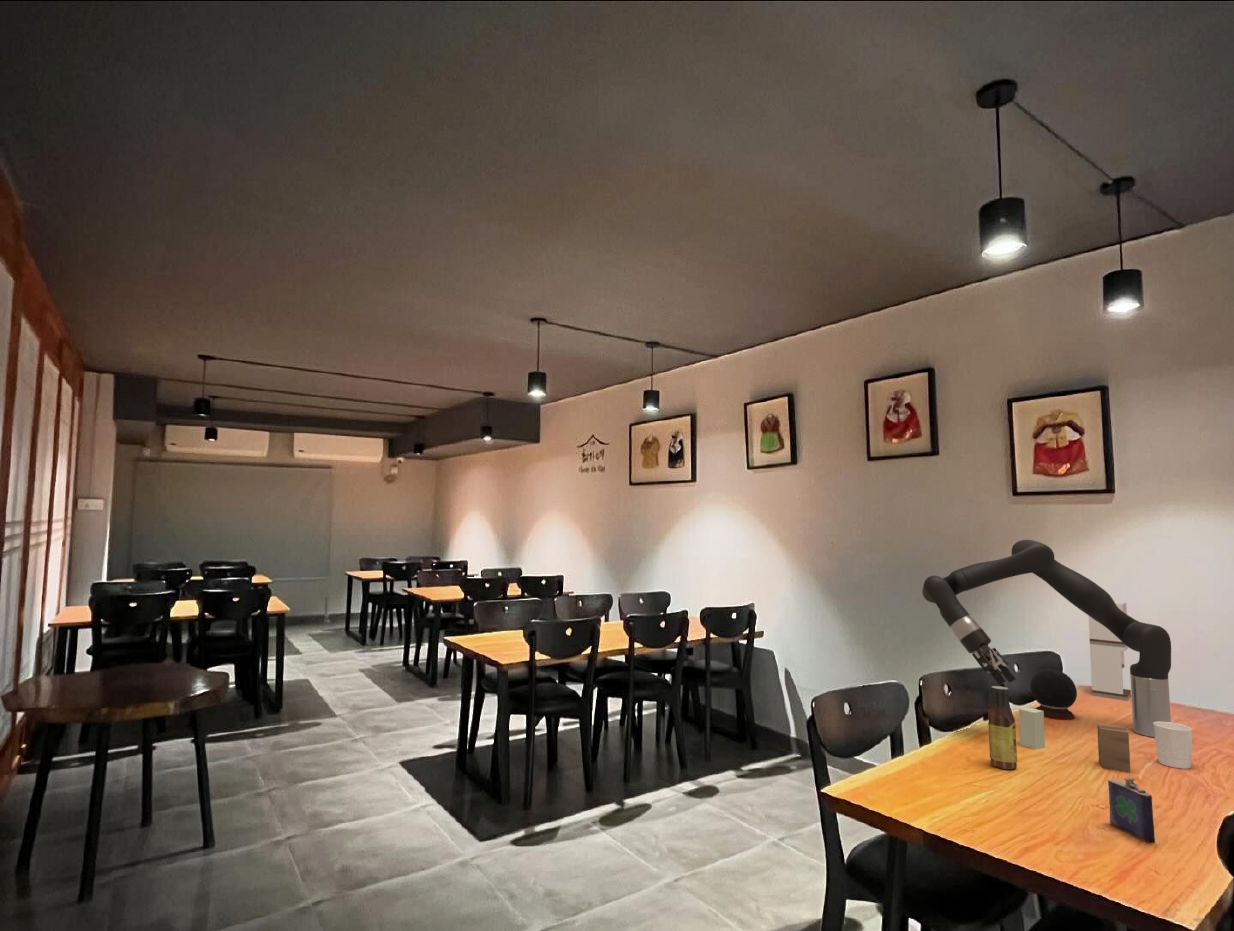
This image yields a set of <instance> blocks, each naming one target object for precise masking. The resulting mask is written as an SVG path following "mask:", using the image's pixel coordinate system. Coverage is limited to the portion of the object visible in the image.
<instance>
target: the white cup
mask: <svg viewBox="0 0 1234 931" xmlns="http://www.w3.org/2000/svg"><path fill="white" fill-rule="evenodd" d="M1153 725H1154V734H1155V737H1154V741H1155V749H1156V752H1157V753H1156V754H1157V760H1158V763H1160V764H1161V765H1164V766H1167V767H1170V768H1175V769H1183V770H1184V769H1188V770H1189V769H1190V768H1191V769H1192V754H1193V752H1192V751H1193V750H1192V749H1193V746H1192V745H1193V743H1192V742H1193V741H1192V739H1193V733H1192V732H1193V731H1192V730H1193V729H1192V727H1190V726H1187V725H1184V724H1182V723H1181V724H1180V723H1178V722H1154V723H1153Z"/></svg>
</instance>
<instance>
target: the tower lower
mask: <svg viewBox="0 0 1234 931" xmlns="http://www.w3.org/2000/svg"><path fill="white" fill-rule="evenodd" d="M1097 745H1098V746H1097V747H1098V748H1097V749H1098V751H1097V752H1098V762H1099V765H1100V767H1101V769H1104V770H1110V771H1117V772H1124V773H1129V774H1131V773H1132V772H1131V757H1130V755H1131V754H1130V753H1128V752H1122V751H1115V750H1108V749H1102V748H1100V746H1099V743H1098V742H1097Z"/></svg>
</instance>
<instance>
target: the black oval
mask: <svg viewBox="0 0 1234 931" xmlns="http://www.w3.org/2000/svg"><path fill="white" fill-rule="evenodd" d="M1030 680H1031V681H1030V686H1029V688H1030V693H1031V695H1032V696H1033V698H1034V700H1035V701H1036V702H1037V703H1038V704H1039V706H1037V707H1036V708H1035V709H1037V710H1041V711H1044V718H1047V719H1051V720H1061V721H1071V720H1074V719H1075V715H1074V714H1073V712H1072V711H1071V710H1069V709H1068V708H1071V707H1072V706H1073V705H1074V703H1075V702H1076V700H1077V696H1078V691H1077V687H1076V685H1075V683H1074V681H1073V679H1072V678H1071V677H1070V676H1068V675H1067V674H1066V673H1064V672H1062V671H1060V670H1058V669H1055V668H1053V669H1052V668H1047V669H1042V670H1038V672H1036V673H1035V674H1034V675H1033V677H1032V678H1031V679H1030Z"/></svg>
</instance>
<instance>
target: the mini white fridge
mask: <svg viewBox="0 0 1234 931" xmlns="http://www.w3.org/2000/svg"><path fill="white" fill-rule="evenodd" d="M1115 604H1116V605H1117V607H1118V608H1119V609H1120V610H1121V611H1123V612H1124V613H1125V614H1127V613H1128V610H1127V602H1126V601H1123V602H1121V603H1117V602H1115ZM1127 615H1128V614H1127ZM1088 630H1089V631H1088V632H1089V635H1088V638H1089V653H1090V654H1089V657H1090V675H1091V676H1090V678H1091V695H1092V696H1093V697H1100V698H1107V699H1114V700H1121V701H1125V702H1126V701H1129V699H1130V698H1131V689H1128V688H1127V689H1126V688H1124V679H1123V669H1124V668H1125V666H1126V665H1125V652H1126V651H1127V650H1128V649H1130V648H1129V647H1128V646H1126V645H1125V644H1124V643H1123V642H1122V641H1121V640H1120V639H1118V638H1117V637H1116V636H1115V635H1114V634H1113V633H1112V632H1111V631H1110V630H1108V629H1107V628H1106V627H1105V626H1103V625H1102V624H1100V623H1099V622H1097V621H1096V620H1094V619H1093V618H1091V617H1090V616H1089V615H1088Z"/></svg>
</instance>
